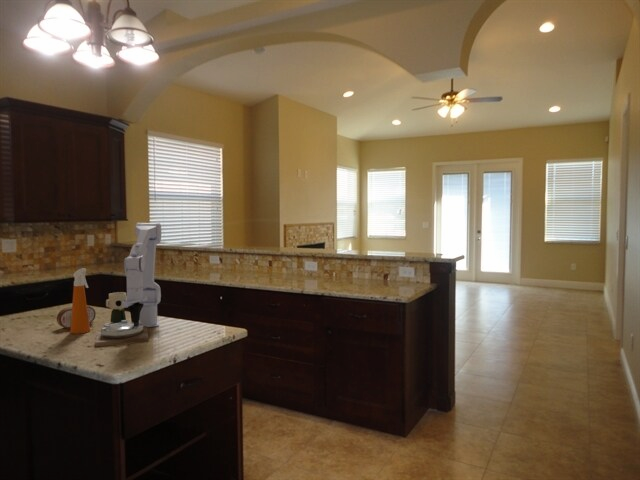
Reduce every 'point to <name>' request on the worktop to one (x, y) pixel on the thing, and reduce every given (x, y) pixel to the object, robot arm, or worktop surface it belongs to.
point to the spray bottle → (79, 304)
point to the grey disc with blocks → (121, 329)
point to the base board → (121, 339)
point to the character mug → (116, 306)
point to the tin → (66, 316)
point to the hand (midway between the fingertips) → (135, 322)
